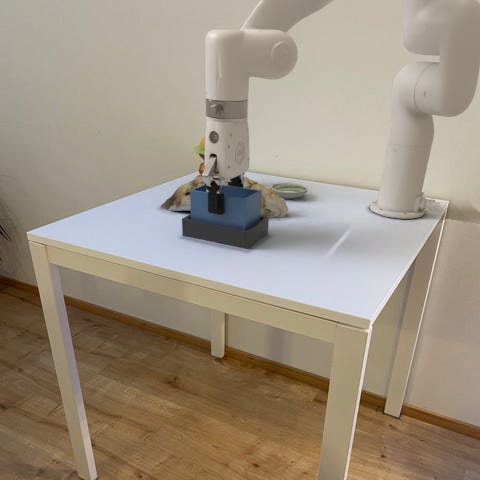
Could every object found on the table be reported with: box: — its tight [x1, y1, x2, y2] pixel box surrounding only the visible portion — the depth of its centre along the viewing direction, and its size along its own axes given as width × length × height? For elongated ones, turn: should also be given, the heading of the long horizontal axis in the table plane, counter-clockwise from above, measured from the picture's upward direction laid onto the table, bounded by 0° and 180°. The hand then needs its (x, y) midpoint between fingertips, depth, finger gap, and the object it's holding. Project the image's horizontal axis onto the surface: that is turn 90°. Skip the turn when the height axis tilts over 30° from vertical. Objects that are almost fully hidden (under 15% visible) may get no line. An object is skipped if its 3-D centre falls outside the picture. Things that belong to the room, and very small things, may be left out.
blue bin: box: [190, 184, 262, 230], centre depth 94 cm, size 12×7×9 cm, turn 64°
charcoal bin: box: [181, 213, 270, 250], centre depth 96 cm, size 15×10×4 cm, turn 64°
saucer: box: [270, 182, 309, 200], centre depth 123 cm, size 10×10×2 cm
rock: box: [160, 173, 289, 219], centre depth 110 cm, size 16×10×30 cm
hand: (225, 207), depth 94 cm, fingers open, 7 cm apart
